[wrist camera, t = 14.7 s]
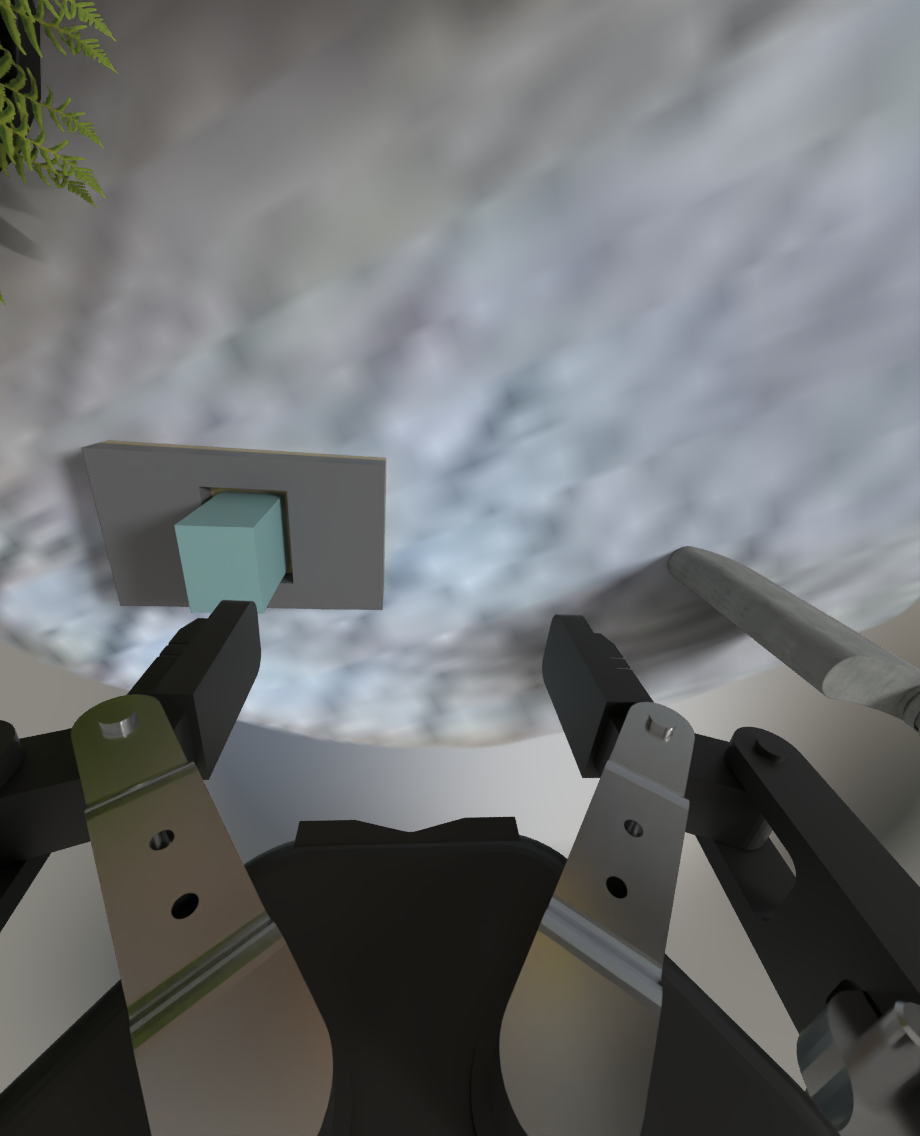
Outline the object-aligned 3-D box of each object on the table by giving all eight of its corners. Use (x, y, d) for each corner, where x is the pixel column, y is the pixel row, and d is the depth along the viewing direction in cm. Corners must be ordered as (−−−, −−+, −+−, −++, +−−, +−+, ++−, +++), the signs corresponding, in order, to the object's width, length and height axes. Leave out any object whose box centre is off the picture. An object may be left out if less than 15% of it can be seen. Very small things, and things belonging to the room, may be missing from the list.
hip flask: (661, 569, 43) (848, 720, 25) (687, 532, 42) (905, 663, 24) (776, 626, 48) (1006, 788, 30) (803, 594, 46) (1061, 744, 28)
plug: (222, 490, 35) (174, 525, 27) (283, 493, 35) (253, 527, 28) (232, 563, 37) (190, 612, 30) (289, 564, 38) (263, 613, 30)
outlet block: (107, 440, 33) (81, 447, 30) (386, 458, 36) (384, 465, 33) (140, 587, 38) (120, 605, 35) (383, 593, 41) (382, 609, 38)
